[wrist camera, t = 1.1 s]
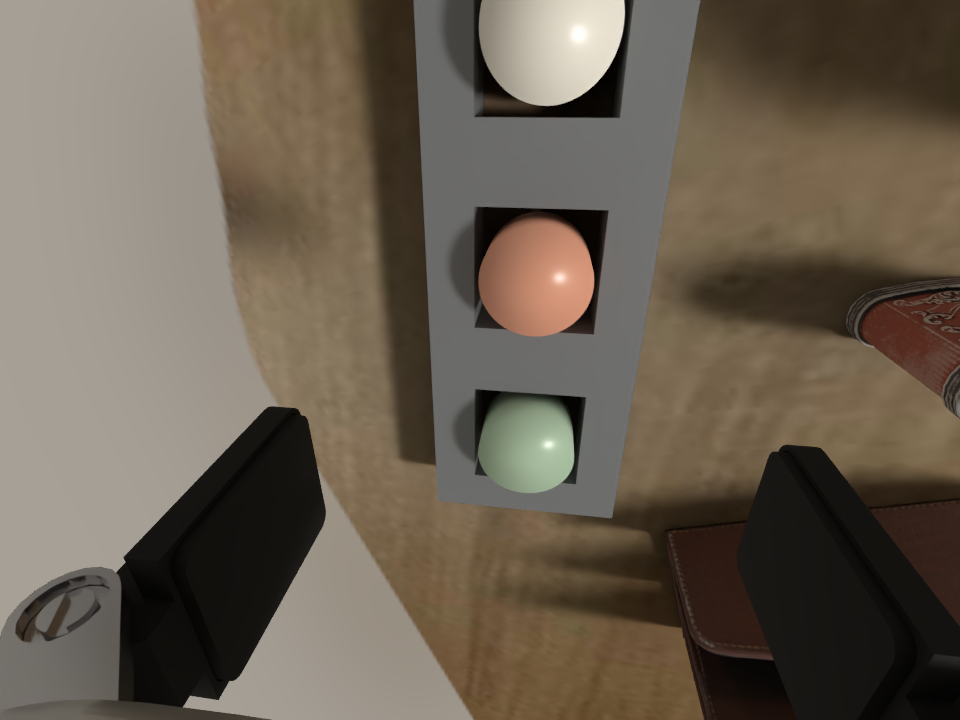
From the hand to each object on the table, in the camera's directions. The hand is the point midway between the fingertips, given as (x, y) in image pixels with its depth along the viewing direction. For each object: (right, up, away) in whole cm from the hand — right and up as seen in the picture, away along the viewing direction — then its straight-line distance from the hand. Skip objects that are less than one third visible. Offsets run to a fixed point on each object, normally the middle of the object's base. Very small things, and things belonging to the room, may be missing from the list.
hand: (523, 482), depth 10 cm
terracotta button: (+2, +7, +13) cm, 15 cm away
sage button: (+2, -1, +17) cm, 17 cm away
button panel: (+2, +8, +14) cm, 16 cm away
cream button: (+2, +15, +9) cm, 18 cm away
